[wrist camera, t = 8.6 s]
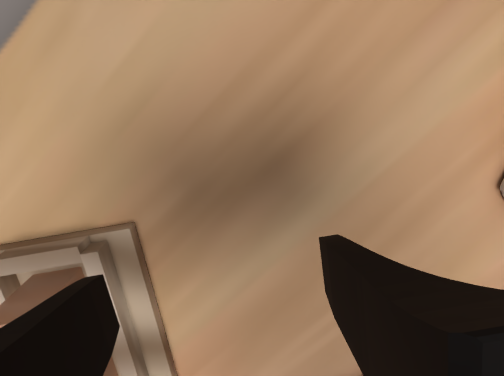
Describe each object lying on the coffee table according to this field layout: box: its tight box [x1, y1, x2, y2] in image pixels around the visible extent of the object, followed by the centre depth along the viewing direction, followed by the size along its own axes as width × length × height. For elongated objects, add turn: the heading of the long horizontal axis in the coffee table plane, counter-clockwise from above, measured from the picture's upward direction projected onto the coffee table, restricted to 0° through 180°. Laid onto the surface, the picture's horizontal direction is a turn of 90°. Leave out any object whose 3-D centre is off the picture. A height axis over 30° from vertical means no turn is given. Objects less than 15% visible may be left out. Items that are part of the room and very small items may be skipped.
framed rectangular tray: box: [0, 222, 177, 376], centre depth 23 cm, size 16×10×2 cm, turn 9°
